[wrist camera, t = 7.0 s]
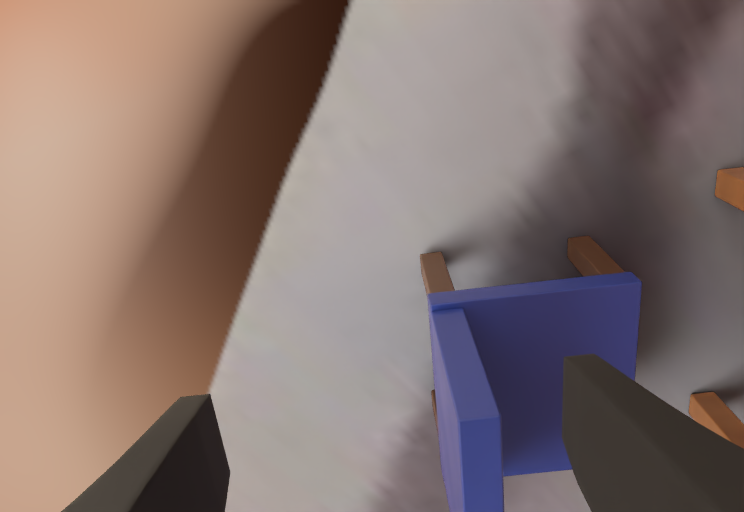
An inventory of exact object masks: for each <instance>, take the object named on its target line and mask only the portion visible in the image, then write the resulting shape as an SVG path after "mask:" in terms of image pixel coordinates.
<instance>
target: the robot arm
mask: <svg viewBox="0 0 744 512" xmlns="http://www.w3.org/2000/svg"><path fill="white" fill-rule="evenodd" d="M562 440H563V443H564V446H565V449H566V452H567V455H568V458H569V461H570V463H571V466H572V469H573V472H574V474H575V477H576V480H577V483H578V485H579V487H580V489H581V491H582V493H583V495H584V497H585V499H586V501H587V503H588V505H589V507H590V509H591V511H592V512H744V449H743V448H742V447H740V446H738V445H736V444H734V443H732V442H730V441H729V440H727V439H725V438H723V437H722V436H720V435H718V434H716V433H715V432H713V431H711V430H710V429H708V428H706V427H705V426H703V425H701V424H699V423H698V422H696V421H694V420H693V419H691V418H690V417H688V416H686V415H685V414H683V413H682V412H680V411H678V410H677V409H675V408H674V407H672V406H671V405H669V404H668V403H666V402H664V401H663V400H661V399H660V398H658V397H657V396H655V395H654V394H652V393H651V392H650V391H648V390H647V389H645V388H644V387H642V386H641V385H639V384H638V383H636V382H635V381H634V380H632V379H631V378H629V377H628V376H626V375H625V374H623V373H622V372H621V371H619V370H618V369H616V368H615V367H613V366H612V365H611V364H609V363H608V362H606V361H605V360H603V359H602V358H600V357H599V356H597V355H596V354H584V355H575V356H565V357H564V361H563V405H562ZM229 477H230V469H229V466H228V462H227V458H226V454H225V450H224V446H223V442H222V438H221V434H220V430H219V427H218V423H217V419H216V415H215V411H214V407H213V403H212V399H211V395H210V394H205V395H196V396H186V397H180V398H179V399H178V400H177V401H176V402H175V403H174V404H173V405H172V406H171V407H170V408H169V409H168V410H167V411H166V412H165V413H164V414H163V415H162V416H161V417H160V418H159V419H158V420H157V421H156V422H155V423H154V424H153V425H152V426H151V427H150V428H149V429H148V430H147V431H146V432H145V433H144V434H143V435H142V436H141V437H140V439H139V440H137V441H136V442H135V444H134V445H132V446H131V448H130V449H128V450H127V451H126V452H125V454H124V455H122V457H120V459H119V460H118V461H116V462H115V464H113V465H112V466H111V467H110V468H109V469H108V470H107V471H106V472H105V473H104V474H103V475H101V476H100V477H99V478H98V479H97V480H96V481H95V482H94V483H93V484H92V485H91V486H90V487H88V488H87V489H86V490H85V491H84V492H83V493H82V494H81V495H80V496H79V497H78V498H76V499H75V500H74V501H73V502H72V503H71V504H70V505H69V506H67V507H66V508H65V509H64V510H63V511H61V512H225V506H226V499H227V492H228V485H229Z"/></svg>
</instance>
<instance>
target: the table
mask: <svg viewBox="0 0 744 512" xmlns="http://www.w3.org/2000/svg"><path fill="white" fill-rule="evenodd" d="M715 196H716V197H718V198H720V199H722V200H723V201H725V202H727V203H729V204H731V205H733V206H734V207H736V208H738V209H740V210H742V211H744V167H740V168H730V169H721V170H718V172H717V180H716V188H715ZM689 414H690V415H691V417H692V418H693V419H694V420H695V421H696V422H698V423H699V424H701V425H703V426H705V427H706V428H708V429H710V430H711V431H713V432H715V433H716V434H718V435H720V436H722V437H723V438H725V439H727V440H729V441H730V442H732V443H734V444H736V445H738V446H740V447H742V448H743V449H744V424H743V423H742V422H741V421H740V420H739V419H738V417H737V416H736V415H735V414H734V413H733V412H732V411H731V410H730V409H729V408H728V407H727V406H726V404H725V403H724V402H723V401H722V400H721V399H720V398H719V397H718V396H717V395H716V394H715V392H707V393H697V394H691V396H690V405H689Z"/></svg>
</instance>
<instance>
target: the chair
mask: <svg viewBox="0 0 744 512" xmlns="http://www.w3.org/2000/svg"><path fill="white" fill-rule="evenodd" d="M567 257H568V259H569V260H570V261H571V262H572V263H573V265H574V266H575V267H576V268H577V269H578V271H579V272H580V273H581V274H582V275H583V277H576V278H567V279H558V280H549V281H539V282H530V283H521V284H512V285H502V286H493V287H484V288H475V289H465V290H456V291H455V290H454V287H453V284H452V281H451V278H450V275H449V272H448V270H447V267H446V264H445V261H444V258H443V255H442V253H441V252H436V253H427V254H420V261H421V273H422V277H423V281H424V285H425V289H426V293H427V297H428V308H429V321H430V333H431V346H432V358H433V371H434V383H435V390H432V392H431V393H432V405H433V410H434V416H435V421H436V426H437V431H438V436H439V446H440V458H441V468H442V474H443V479H444V482H445V487H446V493H447V498H448V503H449V509H450V512H504V487H503V476H512V475H522V474H532V473H542V472H551V471H561V470H571V469H572V466H571V463H570V461H569V458H568V455H567V452H566V449H565V446H564V443H563V440H562V405H563V361H564V357H565V356H575V355H584V354H596V355H597V356H599V357H600V358H602V359H603V360H605V361H606V362H608V363H609V364H611V365H612V366H613V367H615V368H616V369H618V370H619V371H621V372H622V373H623V374H625V375H626V376H628V377H629V378H631V379H632V380H634V381H635V370H636V356H637V343H638V329H639V316H640V303H641V289H642V282H641V281H640V280H639V279H638V278H637V277H636V276H635V275H634V274H633V273H632V272H625V271H624V270H623V269H622V268H621V267H620V266H619V265H618V264H617V263H616V262H615V261H614V260H613V259H612V258H611V257H610V256H609V255H608V254H607V253H606V252H605V251H604V250H603V249H602V248H601V247H600V246H599V245H598V244H597V243H596V242H595V241H594V240H593V239H592V238H591V237H590V236H582V237H573V238H568V254H567Z"/></svg>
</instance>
